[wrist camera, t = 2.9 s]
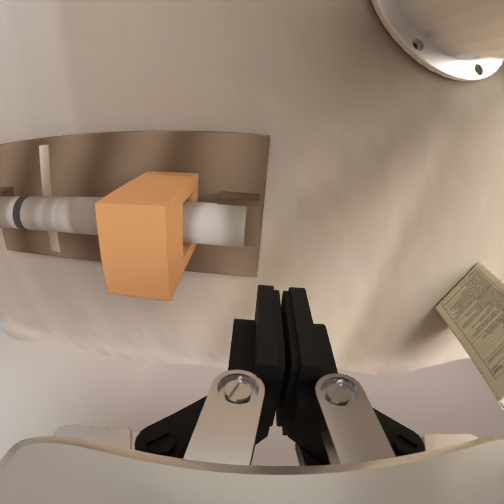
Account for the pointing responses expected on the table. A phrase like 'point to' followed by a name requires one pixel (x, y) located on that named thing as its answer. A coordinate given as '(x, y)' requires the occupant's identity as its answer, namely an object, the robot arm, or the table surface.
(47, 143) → the rail base
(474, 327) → the skincare box
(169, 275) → the collar
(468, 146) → the table surface
